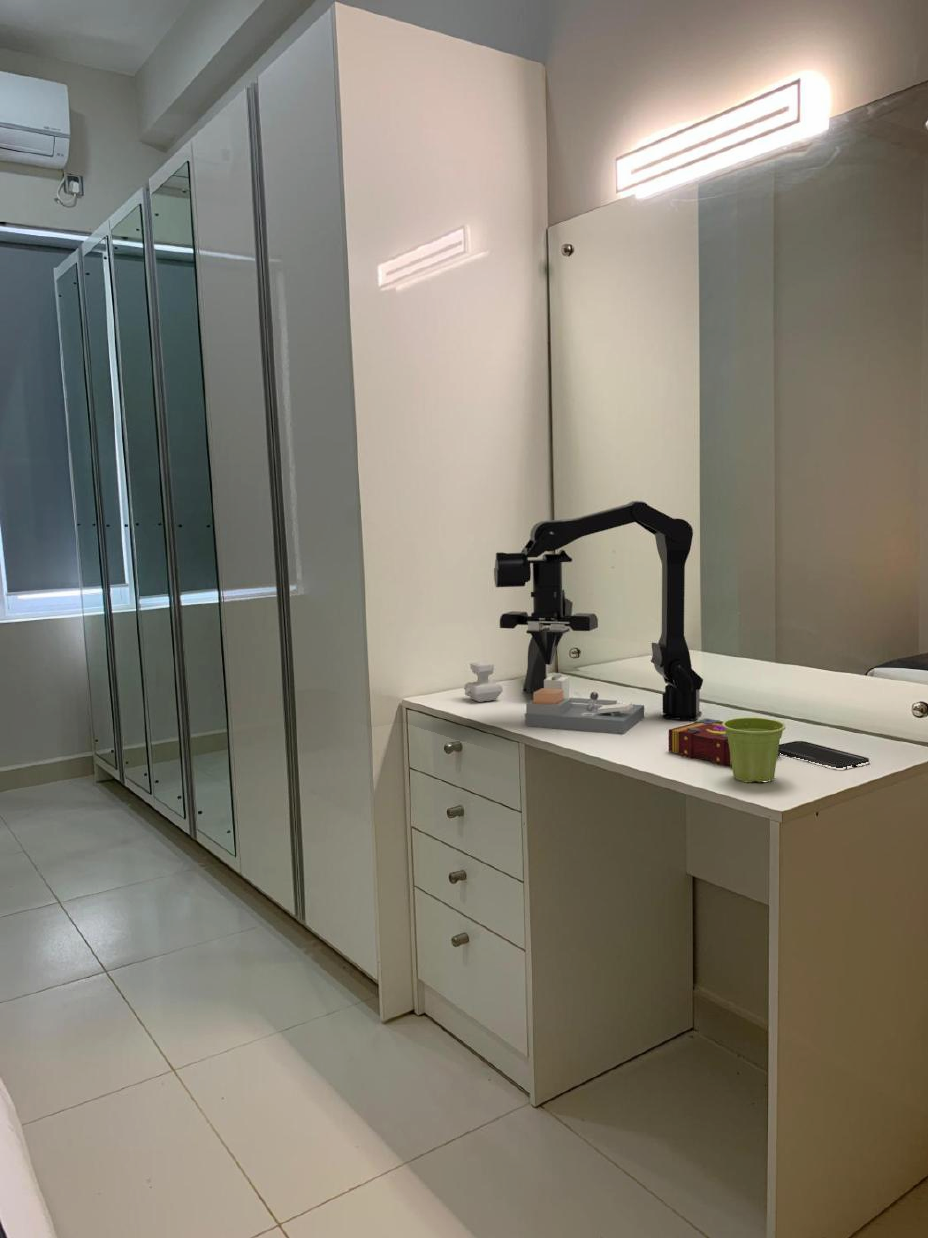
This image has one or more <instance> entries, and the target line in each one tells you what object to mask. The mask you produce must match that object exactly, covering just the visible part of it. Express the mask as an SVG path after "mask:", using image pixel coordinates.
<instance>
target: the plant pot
mask: <svg viewBox="0 0 928 1238" xmlns="http://www.w3.org/2000/svg"><path fill="white" fill-rule="evenodd" d="M722 726H723V728H725V732H726V736H727V737H728V742H729V749H730V755H731V762H732V766H731V767H732V775H733V777H734V779H736V780H737V781H740V780H741V781H740V782H743V781H747V782H749V783H753V782H758V783H760V782H763V781H769V780H772V781H773V780H774V779H775V774H776V769H777V768H776V767H777V761H778V757H777V755H778V748H779V744H780V742H781V741H780V740H781V739H782V735H783V731H784V730H785V729H786V723H784V722H782V721H779V720H776V719H772V718H771V719H770V718H765V717H764V718H763V717H735V718H730V719H726V720H724V721H723V723H722ZM747 782H746V783H747ZM769 782H770V781H769Z"/></svg>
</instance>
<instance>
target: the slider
mask: <svg viewBox="0 0 928 1238" xmlns="http://www.w3.org/2000/svg"><path fill="white" fill-rule="evenodd" d="M544 689H560V690H563V696H564V698H565V699H569V697H570V677H568V676H567V677H566V676H562V674H559V673H557V674H555V675H553V676H548V678H547V679H545V680H544Z"/></svg>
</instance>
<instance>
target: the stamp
mask: <svg viewBox="0 0 928 1238" xmlns="http://www.w3.org/2000/svg"><path fill="white" fill-rule="evenodd" d="M469 665H470V669H471V670H472V674H474V675H476V677H477V680H476V681H472V682H471V681H470V682H466V683H465V684H464V688H463V689H464V695H465V696H466V697H470V699H472V700H474V701H476V702H479V703H485V702H484V701H487V702H493V701H496V700H498V698H499V697H500V695H501V694H502V692H504V690H503V687H502V685H501V684H500V683H497V682H494V681H492V680H490V679H489V677H490V676H491V675H493V674H494V670H495V664H493V663H492V662H491V663H489V662H487V661H481V662H480V661H479V662H472V663H469ZM492 700H493V701H492Z"/></svg>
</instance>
